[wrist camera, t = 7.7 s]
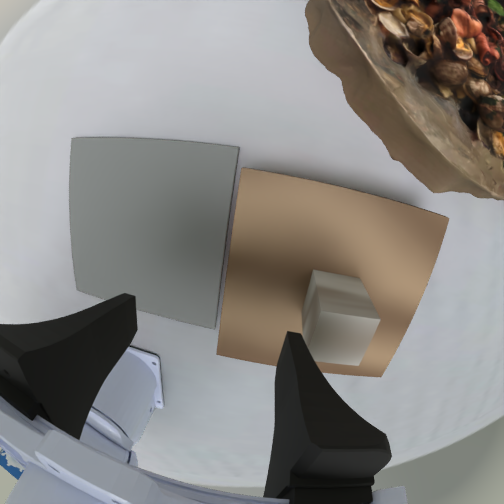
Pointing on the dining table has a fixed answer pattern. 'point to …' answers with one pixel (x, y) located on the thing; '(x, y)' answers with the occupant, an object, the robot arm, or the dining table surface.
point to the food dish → (423, 83)
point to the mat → (152, 222)
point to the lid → (324, 272)
